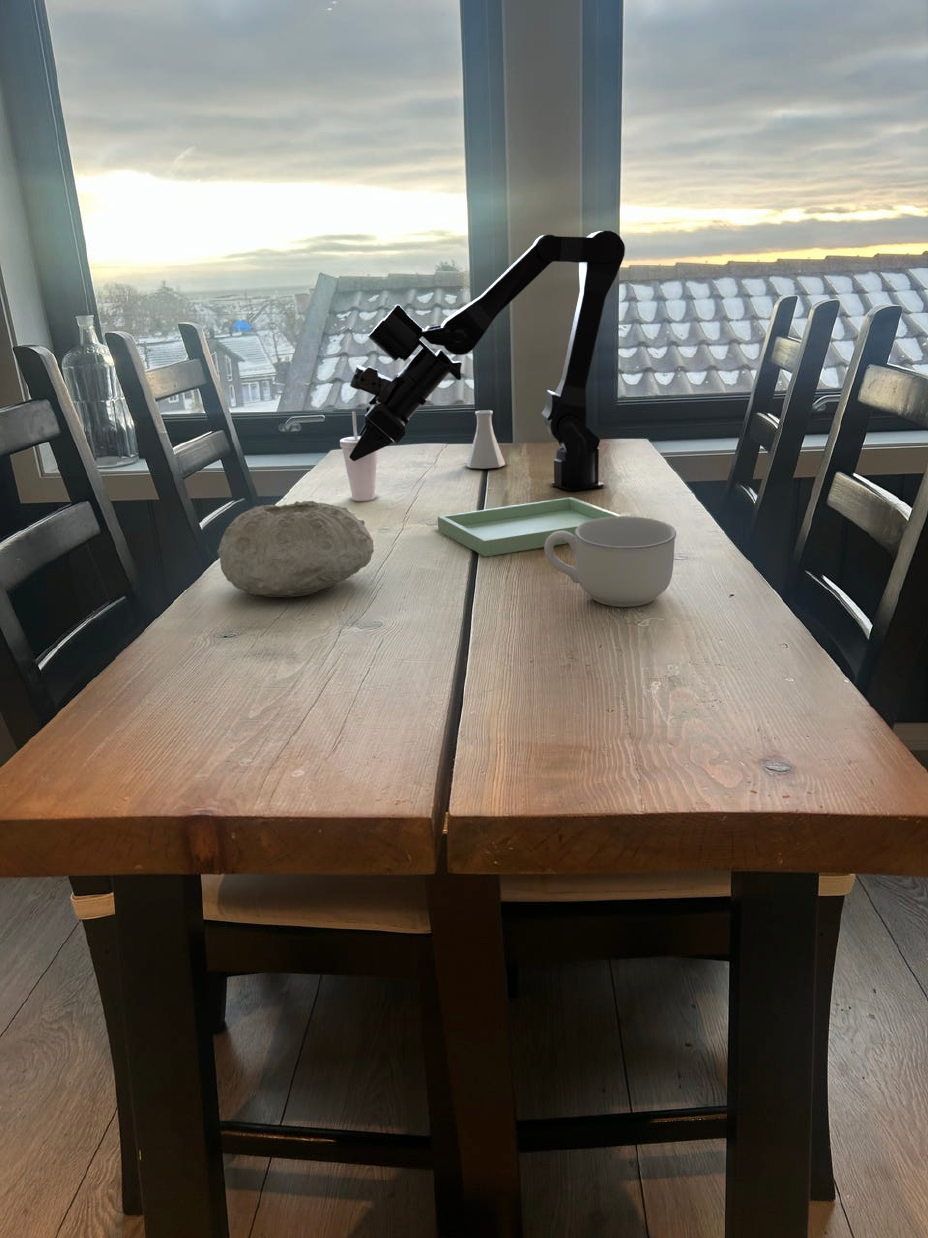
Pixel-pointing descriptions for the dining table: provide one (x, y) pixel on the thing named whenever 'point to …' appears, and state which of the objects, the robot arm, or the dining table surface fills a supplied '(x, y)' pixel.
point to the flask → (485, 444)
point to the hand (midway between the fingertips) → (352, 455)
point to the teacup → (619, 558)
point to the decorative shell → (293, 548)
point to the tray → (518, 525)
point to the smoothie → (360, 468)
